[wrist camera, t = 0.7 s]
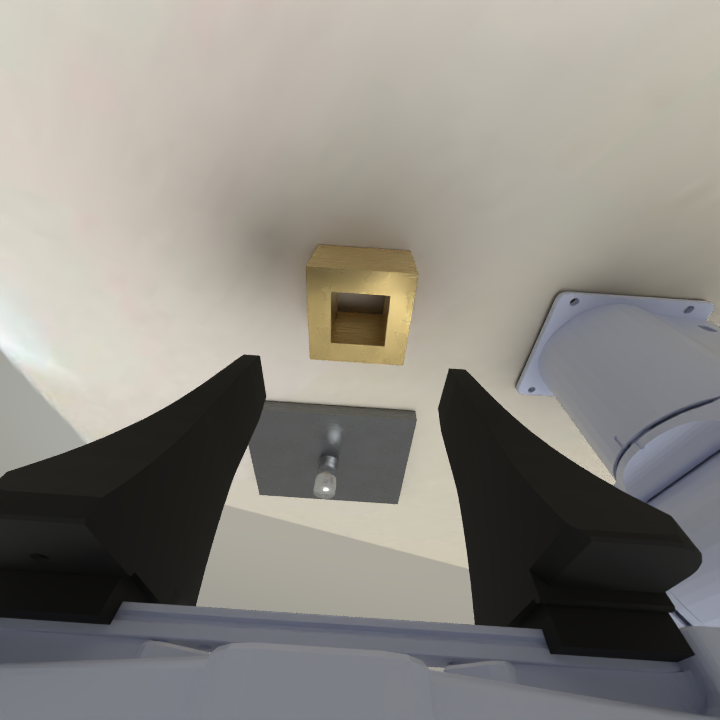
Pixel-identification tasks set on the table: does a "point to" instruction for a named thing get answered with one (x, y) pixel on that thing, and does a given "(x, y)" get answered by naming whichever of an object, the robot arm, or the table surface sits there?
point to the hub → (360, 330)
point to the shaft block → (331, 451)
